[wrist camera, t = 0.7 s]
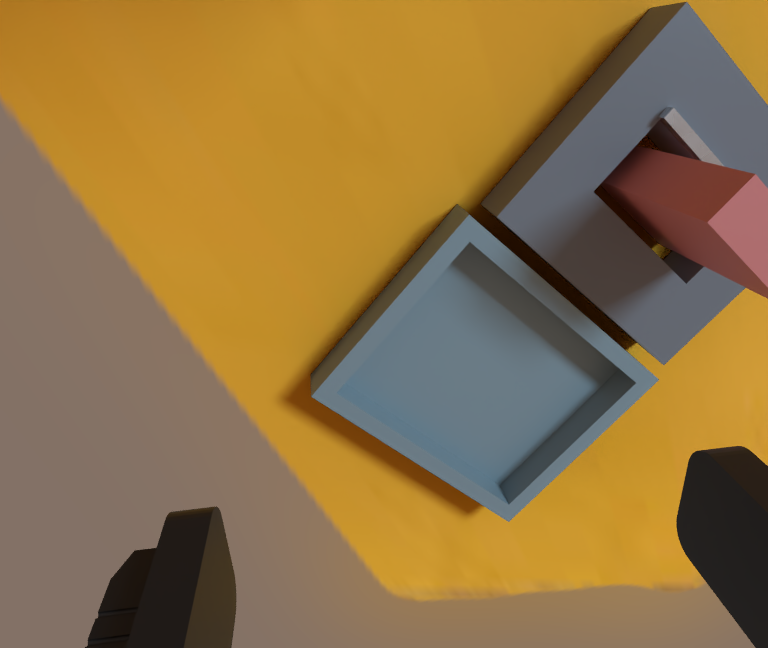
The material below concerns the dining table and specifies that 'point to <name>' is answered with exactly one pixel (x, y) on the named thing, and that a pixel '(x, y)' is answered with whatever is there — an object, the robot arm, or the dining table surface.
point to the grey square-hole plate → (609, 147)
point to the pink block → (698, 211)
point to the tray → (479, 369)
